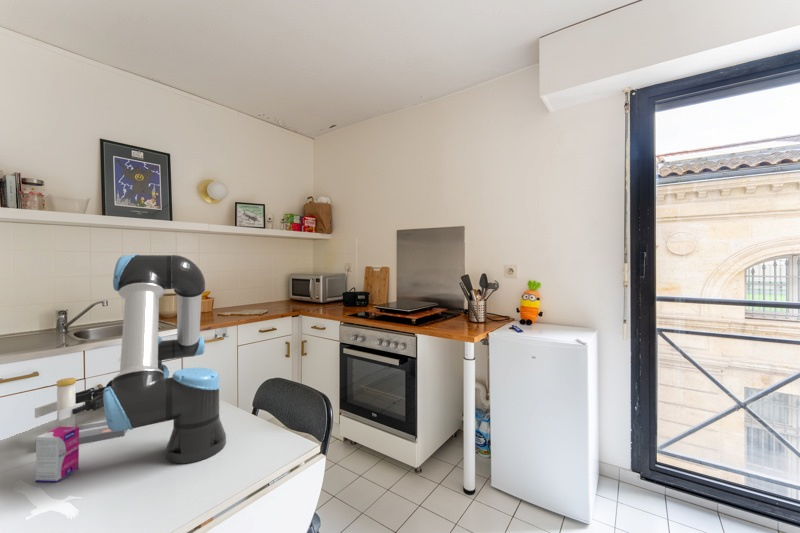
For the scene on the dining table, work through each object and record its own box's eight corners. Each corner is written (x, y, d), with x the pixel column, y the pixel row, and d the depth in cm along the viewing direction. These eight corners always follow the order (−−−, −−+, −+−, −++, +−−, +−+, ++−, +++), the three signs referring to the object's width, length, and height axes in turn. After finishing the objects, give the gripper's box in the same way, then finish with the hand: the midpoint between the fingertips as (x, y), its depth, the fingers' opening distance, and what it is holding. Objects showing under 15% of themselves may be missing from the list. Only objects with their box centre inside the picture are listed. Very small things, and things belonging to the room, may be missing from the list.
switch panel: (131, 422, 116) (131, 413, 116) (124, 435, 107) (124, 426, 107) (52, 436, 106) (52, 426, 106) (36, 452, 98) (36, 441, 98)
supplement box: (58, 483, 84) (57, 437, 84) (34, 482, 84) (34, 437, 84) (80, 468, 90) (79, 426, 90) (58, 468, 90) (57, 426, 90)
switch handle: (78, 427, 107) (77, 377, 107) (73, 433, 103) (72, 381, 103) (60, 430, 105) (59, 379, 105) (54, 437, 101) (53, 383, 101)
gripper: (148, 399, 119) (74, 431, 97) (102, 394, 124) (20, 423, 102) (148, 378, 119) (73, 405, 97) (101, 374, 124) (20, 398, 102)
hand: (46, 414), depth 99 cm, fingers open, 8 cm apart
